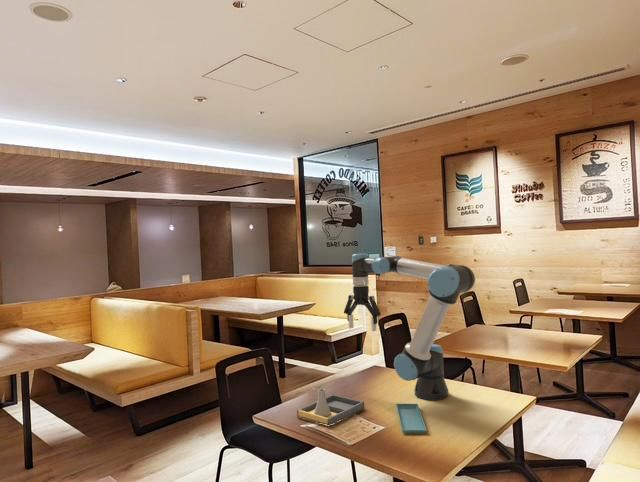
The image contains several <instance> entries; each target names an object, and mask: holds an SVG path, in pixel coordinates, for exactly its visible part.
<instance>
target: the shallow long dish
mask: <svg viewBox="0 0 640 482" xmlns="http://www.w3.org/2000/svg"><path fill="white" fill-rule="evenodd" d="M395 407H396V410H397V415H398V417H399V418H398V419H399V423H400V427H401V431H402V433H403V434H404V435H406V434H409V435H411V434H412V435H414V434H418V435H419V434H422V435H423V434H426V432H427V431H428V429H427V427H426V424H425V421H424V418H423V416H422V412H421V409H420V407H419V404H418V403H396V404H395Z"/></svg>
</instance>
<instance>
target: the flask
mask: <svg viewBox="0 0 640 482" xmlns="http://www.w3.org/2000/svg"><path fill="white" fill-rule="evenodd" d="M317 392H318V398H317V400H316V402H317V405H316V408H315V411H314V414H316V415H319V416H323V417H328V416H329V415H331V412H330V409H329V407H328V404H327V401H326V389H325V388H319V389H317Z"/></svg>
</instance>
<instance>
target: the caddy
mask: <svg viewBox="0 0 640 482" xmlns="http://www.w3.org/2000/svg"><path fill="white" fill-rule="evenodd" d="M325 398H326V401H327V404H328V407H329V409H330V412H331V415H329V416H328V417H323V416H319V415H316V414H314V411H315V408H316V405H317V401H315V402H313V403H309V404H308V405H306V406H303V407H301V408H299V409H297V410H296V418H298V419H301V420H304V421H308V422H311V423H314V422H317V423H323V424H327V425H330V424H333V423H335V422H337V421H339V420H342V419H344V418H346V417H348V416H350V415H352V416H354V415H355V414H357V413H360V412H361V411H363V410H365V402H364V401H361V400H358V399H354V398H349V397H345V396H342V395H338V394H337V395H336V394H331V395H328V396H325ZM353 414H354V415H353ZM350 417H351V416H350ZM348 418H349V417H348ZM346 419H347V418H346ZM344 420H345V419H344ZM342 421H343V420H342ZM317 423H316V424H317Z"/></svg>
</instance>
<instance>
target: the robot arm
mask: <svg viewBox="0 0 640 482" xmlns="http://www.w3.org/2000/svg"><path fill="white" fill-rule="evenodd" d="M351 267H352V268H351V269H352V285H353V286H352V292H353V294H350V295H348V297H347V298H348V299H347V301H346V305H345V308H344V310H343V313H344V314H346V316H347V322H348V329H350V330H351V329H354V314H353V312H354V311H355V310H356V308H357V306H360V305H361V306H364V307H366V309H367V310H368V312H369V313H370V315H371V332H376V331H377V324H378V317H379V316H381V315H382V314H381V311H380V309H379V307H378V305H377V303H376V298H375V295H369V294H370V293H369V292H370V289H369V274H372V275H373V274H375V275H376V274H377V275H385V274H386V273H397V274H402V275H406V276H410V277H416V278H420V279H424V280H427V281H428V282H427V284H428V288H429V290H428V294H429V299H428V301H427V303H426V306H425V308H424V310H423V313H422V316H421V317H420V320H419V321H418V323H417V326H416V329H415V332H414V333H413V336H412V338H411V341H410V342H407V343H406V344H405V345H404V348H403V351H402V352H401V353H399V354H397V355H396V356H395V358H394V361H393V367H394V369H395V370H394V371H395V372H396V375H397V376H398V377H399V378H400V379H401V380H404V381H406V382H409V381H415V380H416V379H417V380H416V382H415V386H414V396H415V397H417V398H419V399H422V400H428V401H439V400H444V399H445V400H446V399H447V398H449V396H450V395H449V388H448V386H447V383H446V380H445V374H444V372H445V371H444V370H445V369H444V352H443V347H442V346H441V345H440V344H435V343H434V342H435V340H436V338H437V335H438V334H439V331H440V329H441V326H442V325H443V322H444V320H445V318H446V315H447V313H448V311H449V309H450V306H452V305H456V303H457V300H458V299H459V295H460V294H463V293H467V292H468V291H469V292H470V290H471V289H473V287H474V285H475V282H476V276H475V273H474V271H473V270H472V269H471V268H470V267H468V266H466V265H463V264H452V263H449V264H448V265H444V264H441V263H434V262H427V261H421V260H416V259H410V258H405V257H402V256H400V255H393V256H380V257H368V254H367V253H353V254H352V255H351Z"/></svg>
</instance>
